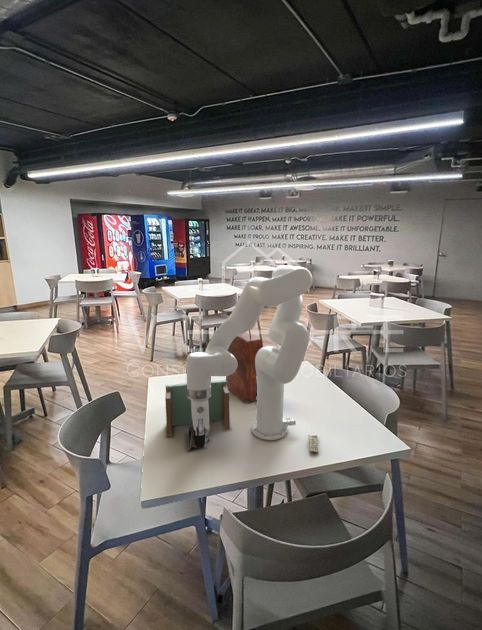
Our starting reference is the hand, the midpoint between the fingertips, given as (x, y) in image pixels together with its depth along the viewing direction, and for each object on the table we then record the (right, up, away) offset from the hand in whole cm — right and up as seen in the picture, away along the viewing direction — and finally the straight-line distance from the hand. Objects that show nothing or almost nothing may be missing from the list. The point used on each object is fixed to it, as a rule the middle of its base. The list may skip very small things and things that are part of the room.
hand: (199, 443), depth 109 cm
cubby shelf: (-3, +1, +14) cm, 14 cm away
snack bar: (+38, -2, +4) cm, 38 cm away
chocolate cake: (-1, -1, +6) cm, 6 cm away
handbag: (+13, +6, +43) cm, 46 cm away
